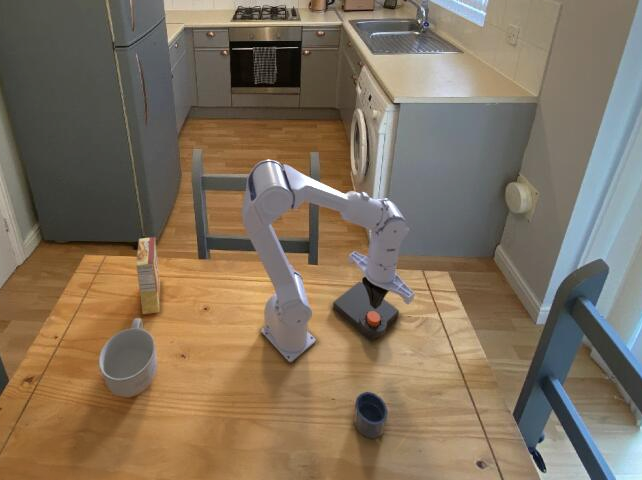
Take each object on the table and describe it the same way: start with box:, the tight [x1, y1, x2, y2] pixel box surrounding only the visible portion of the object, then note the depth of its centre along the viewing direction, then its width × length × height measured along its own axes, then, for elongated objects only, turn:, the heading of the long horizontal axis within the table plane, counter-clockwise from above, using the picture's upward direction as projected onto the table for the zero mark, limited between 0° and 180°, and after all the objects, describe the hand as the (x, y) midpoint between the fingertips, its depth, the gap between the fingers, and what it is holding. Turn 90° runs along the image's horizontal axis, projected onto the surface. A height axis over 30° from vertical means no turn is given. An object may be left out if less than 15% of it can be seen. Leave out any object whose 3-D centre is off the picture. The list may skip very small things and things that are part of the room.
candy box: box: [135, 236, 161, 315], centre depth 100 cm, size 9×4×15 cm, turn 9°
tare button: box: [367, 311, 380, 327], centre depth 92 cm, size 3×3×2 cm
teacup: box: [98, 317, 158, 398], centre depth 85 cm, size 14×11×8 cm
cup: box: [353, 391, 388, 439], centre depth 76 cm, size 5×6×4 cm
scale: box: [332, 281, 400, 342], centre depth 97 cm, size 12×11×4 cm
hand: (375, 304), depth 91 cm, fingers closed
